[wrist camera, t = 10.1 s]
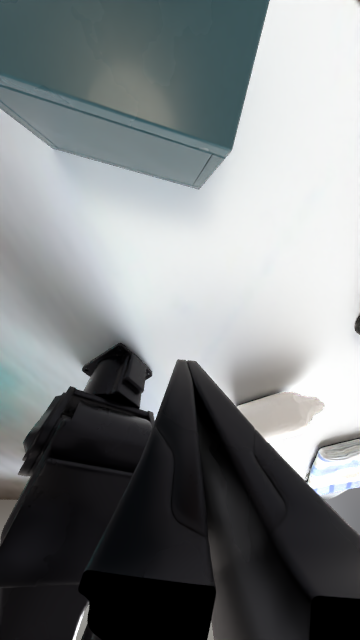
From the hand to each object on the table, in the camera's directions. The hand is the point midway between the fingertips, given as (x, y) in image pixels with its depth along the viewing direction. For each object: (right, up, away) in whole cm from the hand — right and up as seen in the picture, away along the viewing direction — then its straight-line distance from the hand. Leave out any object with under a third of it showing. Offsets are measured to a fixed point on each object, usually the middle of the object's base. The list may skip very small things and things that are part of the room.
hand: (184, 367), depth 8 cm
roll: (+15, -11, +21) cm, 28 cm away
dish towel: (+41, -34, +36) cm, 64 cm away
